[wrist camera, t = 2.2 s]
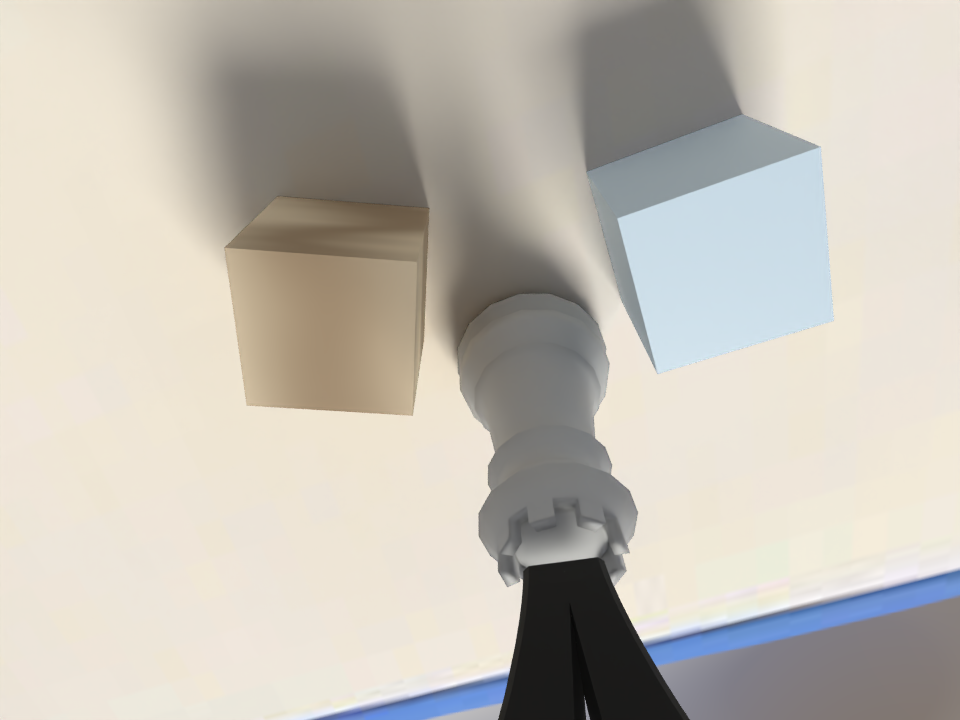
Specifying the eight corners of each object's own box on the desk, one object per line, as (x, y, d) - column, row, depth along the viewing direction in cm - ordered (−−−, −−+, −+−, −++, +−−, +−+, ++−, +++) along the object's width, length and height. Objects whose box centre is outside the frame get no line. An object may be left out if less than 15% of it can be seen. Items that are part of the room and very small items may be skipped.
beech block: (429, 207, 16) (417, 261, 13) (424, 337, 18) (412, 415, 15) (278, 194, 16) (224, 247, 12) (290, 328, 18) (246, 405, 14)
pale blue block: (740, 113, 15) (820, 146, 11) (760, 256, 17) (833, 320, 13) (585, 171, 16) (617, 218, 12) (621, 301, 18) (658, 373, 14)
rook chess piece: (442, 300, 17) (420, 494, 10) (595, 272, 17) (678, 454, 10) (473, 422, 20) (472, 647, 13) (609, 399, 19) (684, 620, 12)
